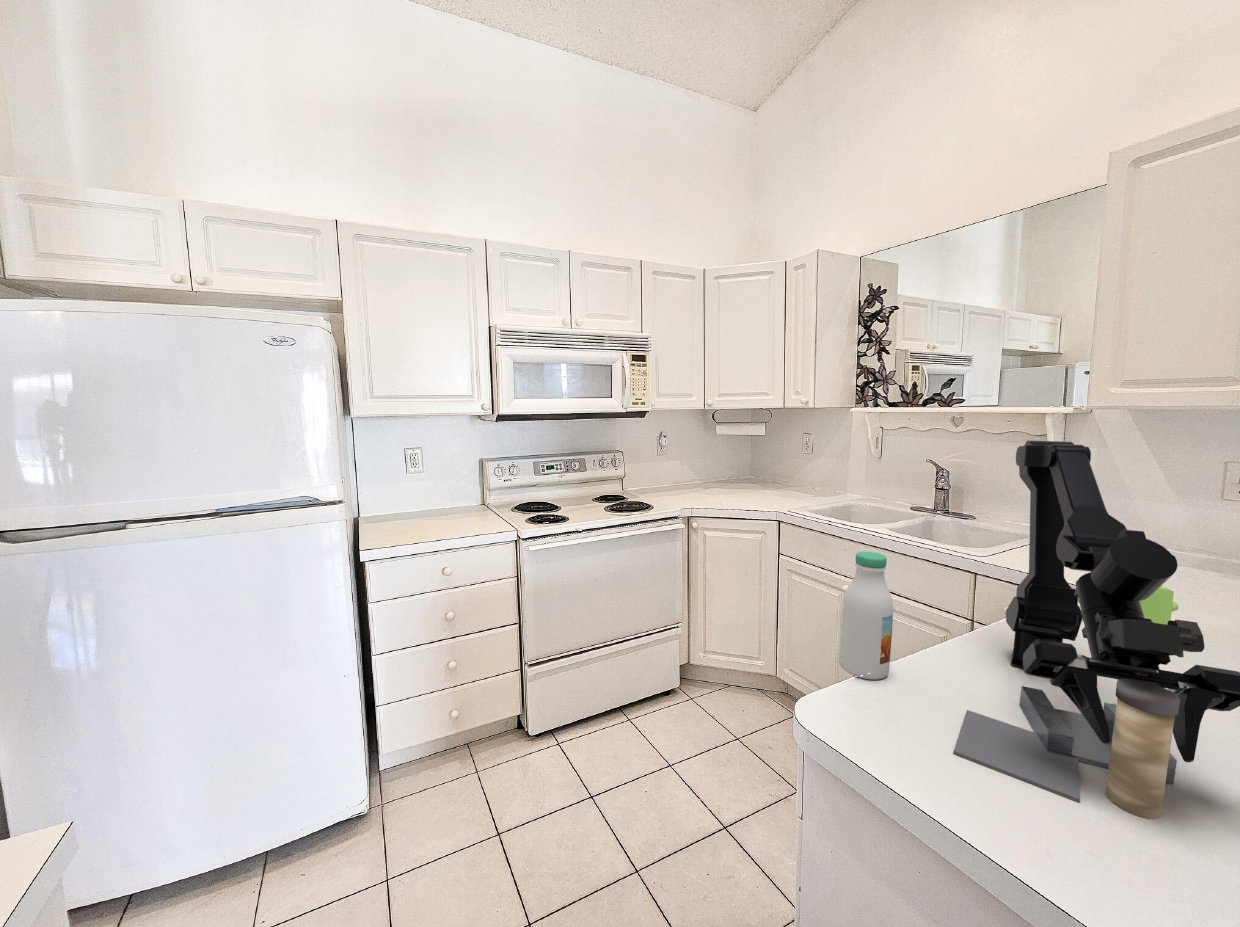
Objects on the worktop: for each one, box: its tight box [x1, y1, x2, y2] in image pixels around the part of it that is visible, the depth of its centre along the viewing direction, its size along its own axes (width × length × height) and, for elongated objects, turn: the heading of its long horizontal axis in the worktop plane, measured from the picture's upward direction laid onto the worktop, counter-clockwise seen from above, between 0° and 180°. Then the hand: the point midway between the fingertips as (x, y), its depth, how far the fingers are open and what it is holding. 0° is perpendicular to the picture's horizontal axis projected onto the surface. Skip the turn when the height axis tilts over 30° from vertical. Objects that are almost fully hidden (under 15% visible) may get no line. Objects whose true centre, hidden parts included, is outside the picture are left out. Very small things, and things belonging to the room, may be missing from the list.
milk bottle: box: [838, 551, 894, 681], centre depth 85 cm, size 8×8×20 cm
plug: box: [1105, 679, 1180, 820], centre depth 56 cm, size 5×5×14 cm
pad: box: [953, 709, 1081, 803], centre depth 65 cm, size 12×12×1 cm
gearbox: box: [1078, 585, 1179, 625], centre depth 106 cm, size 18×10×10 cm, turn 74°
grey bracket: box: [1019, 685, 1178, 785], centre depth 68 cm, size 12×12×3 cm
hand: (1146, 751), depth 55 cm, fingers open, 6 cm apart
